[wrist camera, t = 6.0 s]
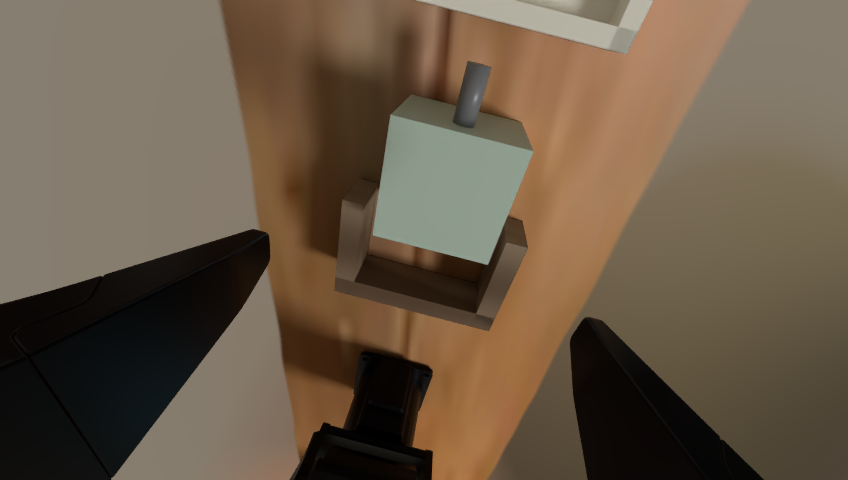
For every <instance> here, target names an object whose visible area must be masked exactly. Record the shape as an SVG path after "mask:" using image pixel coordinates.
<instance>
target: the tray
mask: <svg viewBox="0 0 848 480" xmlns="http://www.w3.org/2000/svg"><path fill="white" fill-rule="evenodd" d="M414 1H418V2H422V3H426V4H430V5H434V6H438V7H442V8H445V9H449V10H453V11H457V12H461V13H465V14H469V15H473V16H477V17H480V18H484V19H488V20H492V21H496V22H500V23H504V24H508V25H511V26H515V27H519V28H523V29H527V30H531V31H535V32H539V33H543V34H546V35H550V36H554V37H558V38H562V39H566V40H570V41H574V42H578V43H581V44H585V45H589V46H593V47H597V48H601V49H605V50H609V51H613V52H618V53H623V54H627V53H628V51H629V49H630V47H631V45H632V43H633V41H634V39H635V37H636V35H637V33H638V31H639V28H640V26H641V24H642V22H643V20H644V18H645V16H646V14H647V12H648V10H649V8H650V6H651V4H652V2H653V0H414Z"/></svg>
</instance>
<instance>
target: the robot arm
mask: <svg viewBox="0 0 848 480" xmlns="http://www.w3.org/2000/svg"><path fill="white" fill-rule="evenodd" d="M269 261H270V241H269V235H268V233H266V232H263V231H259V230H255V229H251V230H248V231H245V232H242V233H238V234H235V235H232V236H228V237H225V238H222V239H219V240H216V241H212V242H209V243H206V244H203V245H200V246H196V247H193V248H190V249H186V250H183V251H180V252H177V253H174V254H170V255H167V256H164V257H161V258H157V259H154V260H151V261H147V262H144V263H141V264H138V265H134V266H131V267H128V268H125V269H122V270H118V271H115V272H112V273H109V274H105V275H104V276H103V277H102V276H99V277H95V278H92V279H89V280H86V281H82V282H79V283H76V284H72V285H69V286H66V287H62V288H59V289H55V290H52V291H48V292H45V293H41V294H37V295H33V296H30V297H26V298H22V299H19V300H15V301H11V302H7V303H3V304H0V480H111V478H112V477H114V475H115V474H116V473H117V471H118V470H119V469H120V468H121V466H122V465H123V464H124V462H125V461H126V460H127V458H128V457H129V456H130V454H131V453H132V452H133V451H134V449H135V448H136V446H137V445H138V444H139V443H140V441H141V440H142V438H143V437H144V436H145V435H146V433H147V432H148V431H149V429H150V428H151V427H152V426H153V424H154V423H155V422H156V420H157V419H158V418H159V416H160V415H161V414H162V413H163V411H164V410H165V409H166V407H167V406H168V405H169V403H170V402H171V401H172V399H173V398H174V397H175V395H176V394H177V393H178V392H179V390H180V389H181V388H182V386H183V385H184V384H185V382H186V381H187V380H188V378H189V377H190V376H191V374H192V373H193V372H194V371H195V369H196V368H197V366H198V365H199V364H200V363H201V361H202V360H203V359H204V357H205V356H206V355H207V353H208V352H209V351H210V350H211V348H212V347H213V346H214V344H215V343H216V342H217V340H218V339H219V338H220V336H221V335H222V334H223V332H224V331H225V330H226V328H227V327H228V326H229V325H230V323H231V322H232V321H233V319H234V318H235V317H236V315H237V314H238V313H239V311H240V310H241V309H242V307H243V305H244V304H245V302H246V301H247V299H248V297H249V296H250V294H251V292H252V290H253V289H254V287H255V285H256V284H257V282H258V280H259V279H260V277H261V275H262V274H263V272H264V270H265V269H266V267H267V265H268V263H269ZM570 352H571V369H572V386H573V397H574V403H575V409H576V415H577V421H578V426H579V432H580V438H581V444H582V450H583V455H584V461H585V467H586V473H587V478H588V480H764V479H763V478H762V477H761V476H760V475H759V474H757V472H756V471H755V470H753V469H752V468H751V467H750V466H749V465H748V464H747V463H746V462H745V461H744V460H743V459H742V458H741V457H740V456H739V455H738V454H737V453H736V452H735V451H734V450H733V449H732V448H731V447H730V446H729V445H728V444H727V443H726V442H725V441H724V440H720V436H719V435H718V434H717V433H716V432H715V431H714V430H713V429H712V428H711V427H710V426H708V425H707V424H706V423H705V421H704V420H702V419H701V418H700V417H699V416H698V415H697V414H696V413H695V412H694V411H693V410H692V409H691V408H690V407H689V406H688V405H687V404H686V403H685V402H684V401H683V400H682V399H681V398H680V397H679V396H678V395H677V394H676V393H675V392H674V391H673V390H672V389H671V388H670V387H669V386H668V385H667V384H666V383H665V382H664V381H663V380H662V379H661V378H660V377H659V376H658V375H657V374H656V373H655V372H654V371H653V370H652V369H651V368H650V367H649V366H648V365H647V364H645V362H644V361H643V360H642V359H641V358H640V357H639V356H637V354H635V352H634V351H633V350H631V349H630V348H629V347H628V346H627V345H626V344H625V343H624V342H623V341H622V340H621V339H620V338H619V337H618V336H617V335H616V334H615V333H614V332H613V331H612V330H611V329H610V328H609V327H608V326H607V325H606V324H605V323H604V322H603V321H602V320H599V319H595V318H591V317H585V318H584V319H583V320H582V322H581V323H580V324H579V326H578V327H577V329H576V330H575V332H574V333H573V335H572V337H571V340H570ZM432 374H433V371H432V370H431V369H430V368H427V367H423V366H420V365H416V364H412V363H408V362H404V361H401V360H397V359H393V358H389V357H385V356H382V355H378V354H374V353H370V352H366V351H364V352H362V353H361V355H360V358H359V363H358V369H357V375H356V381H355V387H354V398H353V401H352V404H351V407H350V409H349V412H348V415H347V418H346V421H345V424H344V427H343V429H342V428H338V427H334V426H331V425H330V424H328V423H325V422H324V423H323V425H322V427H321V429H320V431H317V432H314V433H313V436H312V438H311V441H310V443H309V446H308V448H307V450H306V452H305V454H304V456H303V458H302V460H301V462H300V463H299V465H298V467H297V468H296V470H295V472H294V473H293V475H292V477H291V478H290V480H432V458H433V451H430V450H427V449H426V450H421V449H418V448H414V447H412V446H413V440H414V434H415V428H416V422H417V416H418V411H419V410H420V407H421V405H422V402H423V399H424V397H425V394H426V391H427V389H428V386H429V384H430V381H431V378H432Z"/></svg>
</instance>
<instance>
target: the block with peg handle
mask: <svg viewBox="0 0 848 480" xmlns="http://www.w3.org/2000/svg"><path fill="white" fill-rule="evenodd" d="M490 71H491V67H489V66H487V65H483V64H480V63H475V62H470V61H468V62H467V66H466V70H465V74H464V78H463V82H462V86H461V90H460V94H459V98H458V102H457V106H456V105H452V104H448V103H444V102H440V101H436V100H432V99H428V98H424V97H420V96H416V95H413V94H411V95H410V96H409V97H408V98H407V99H406V100H405V101H404V102H403V103H402V104H401V105H400V106H399V107H398V108H397V109H396V110H395V111H394V112H393V113H392V114H391V115H390V121H389V128H388V135H387V141H386V148H385V155H384V162H383V168H382V175H381V182H380V189H379V195H378V202H377V209H376V216H375V222H374V229H373V235H374V236H378V237H381V238H385V239H389V240H393V241H397V242H401V243H405V244H409V245H413V246H416V247H420V248H424V249H428V250H432V251H436V252H440V253H444V254H447V255H451V256H455V257H459V258H463V259H467V260H471V261H475V262H478V263H482V264H486V265H488V263H489V261H490V258H491V256H492V253H493V251H494V248H495V246H496V243H497V241H498V238H499V236H500V233H501V231H502V228H503V226H504V224H505V221H506V219H507V216H508V214H509V211H510V209H511V206H512V204H513V201H514V199H515V196H516V194H517V191H518V189H519V186H520V184H521V181H522V179H523V176H524V174H525V171H526V169H527V166H528V164H529V161H530V159H531V156H532V154H533V149H532V146H531V144H530V141H529V139H528V137H527V134H526V132H525V129H524V127H523V124H522V122H518V121H514V120H510V119H507V118H503V117H499V116H495V115H491V114H487V113H483V112H479V109H480V106H481V103H482V99H483V96H484V92H485V89H486V85H487V82H488V78H489V75H490Z"/></svg>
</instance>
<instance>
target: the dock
mask: <svg viewBox="0 0 848 480" xmlns="http://www.w3.org/2000/svg"><path fill="white" fill-rule="evenodd" d="M377 187H378V183H374V182H370V181H366V180H362V179H358V181H357V182H356V183H355V184H354V186H353V187H352V188H351V189H350V191H349V192H348V193H347V194H346V196H345V197H344V198H343V199H342V209H341V221H340V232H339V244H338V255H337V267H336V279H335V290H334V291H337V292H341V293H345V294H349V295H353V296H356V297H360V298H364V299H368V300H372V301H376V302H379V303H383V304H387V305H391V306H395V307H398V308H402V309H406V310H410V311H414V312H417V313H421V314H425V315H429V316H433V317H436V318H440V319H444V320H448V321H452V322H455V323H459V324H463V325H467V326H471V327H475V328H478V329H482V330H486V331H489V329H490V327H491V325H492V323H493V321H494V319H495V317H496V315H497V313H498V311H499V308H500V306H501V304H502V302H503V300H504V298H505V296H506V294H507V292H508V289H509V287H510V285H511V283H512V281H513V279H514V277H515V275H516V273H517V271H518V268H519V266H520V264H521V262H522V260H523V258H524V256H525V254H526V252H527V249H528V245H527V240H526V235H525V231H524V226H523V221H520V220H516V219H512V218H508V217H507V219H506V221H505V224H504V226H503V228H502V231H501V233H500V236H499V238H498V241H497V243H496V246H495V248H494V251H493V253H492V256H491V258H490V261H489V263H488V265H486V264H484V267H483V269H482V272H481V274H480V277H479V279H478V282H477V283H473V282H469V281H465V280H461V279H457V278H454V277H450V276H446V275H442V274H438V273H435V272H431V271H427V270H423V269H419V268H415V267H412V266H408V265H404V264H400V263H396V262H393V261H389V260H385V259H381V258H377V257H373V256H370V255H367V254H368V247H369V241H370V234H371V227H372V220H373V214H374V207H375V200H376V193H377Z"/></svg>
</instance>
